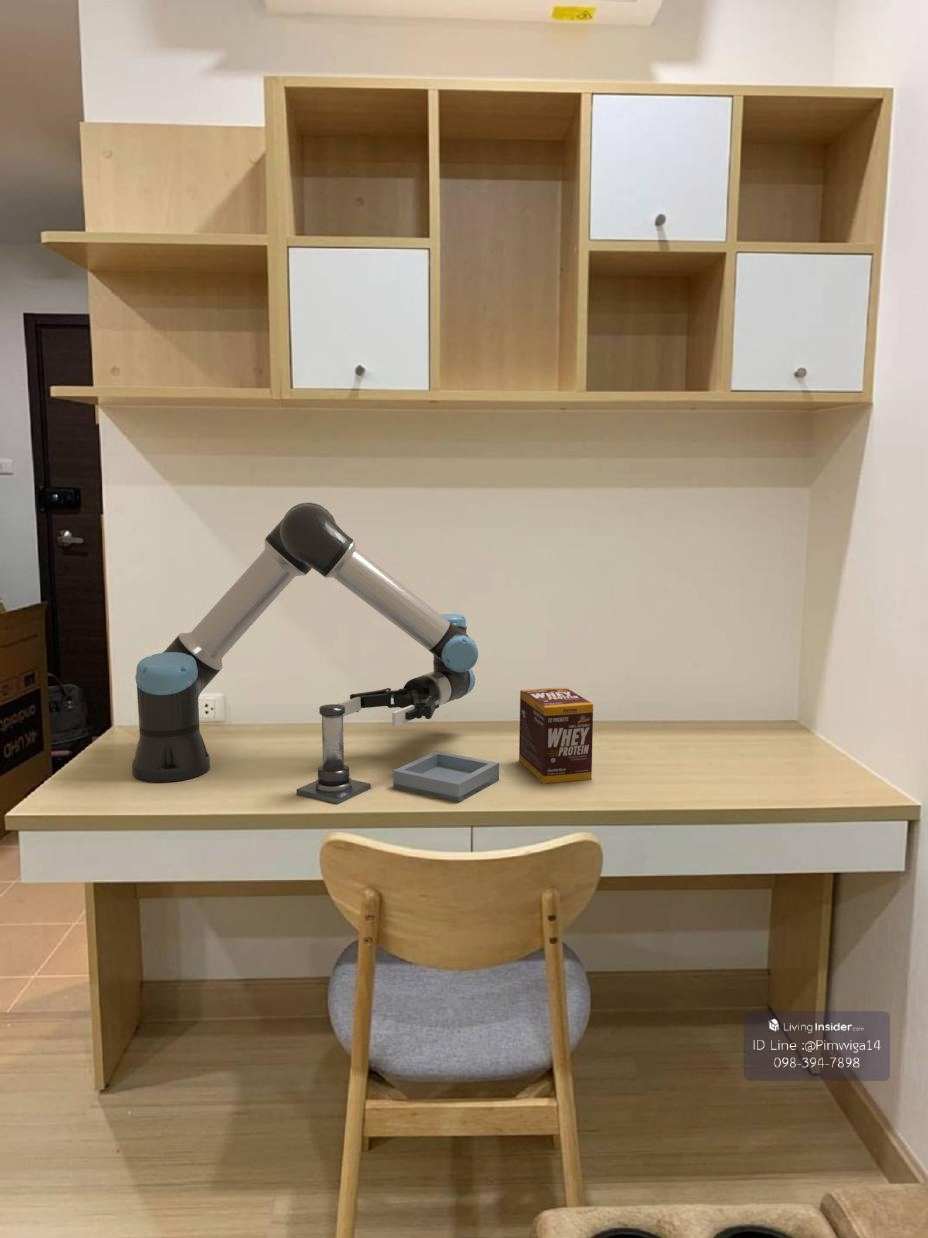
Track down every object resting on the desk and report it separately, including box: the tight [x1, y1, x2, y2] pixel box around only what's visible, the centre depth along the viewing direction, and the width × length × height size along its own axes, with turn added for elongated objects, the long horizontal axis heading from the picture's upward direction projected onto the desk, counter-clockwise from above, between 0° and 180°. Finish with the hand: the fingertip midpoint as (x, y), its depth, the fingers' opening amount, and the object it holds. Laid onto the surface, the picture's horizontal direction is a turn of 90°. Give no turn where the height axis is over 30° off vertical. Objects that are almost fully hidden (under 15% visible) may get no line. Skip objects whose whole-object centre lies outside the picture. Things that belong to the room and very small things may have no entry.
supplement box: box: [518, 687, 594, 784], centre depth 189 cm, size 10×15×16 cm
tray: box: [392, 750, 500, 803], centre depth 181 cm, size 15×15×4 cm
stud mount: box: [296, 777, 372, 805], centre depth 177 cm, size 10×10×2 cm
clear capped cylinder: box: [317, 703, 351, 787], centre depth 176 cm, size 6×6×14 cm
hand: (365, 715), depth 183 cm, fingers open, 13 cm apart
